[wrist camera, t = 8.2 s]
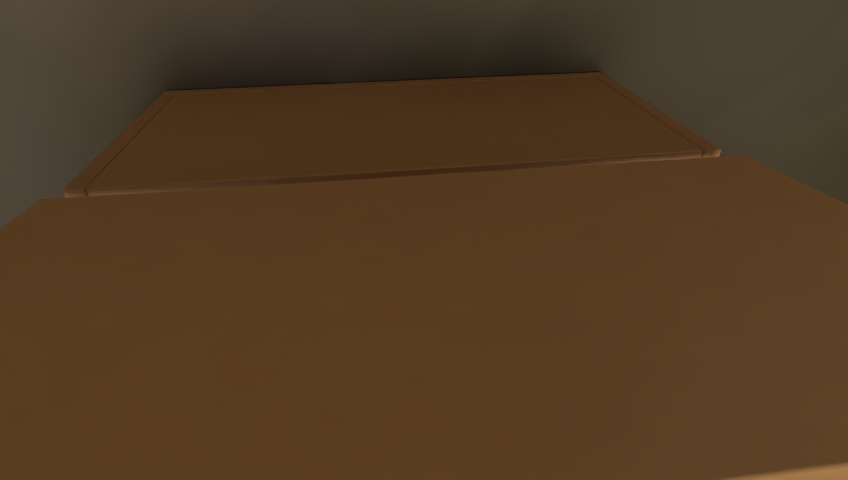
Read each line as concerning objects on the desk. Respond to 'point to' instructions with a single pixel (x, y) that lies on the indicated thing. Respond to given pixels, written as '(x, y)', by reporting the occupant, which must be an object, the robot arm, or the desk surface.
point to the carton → (382, 133)
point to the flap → (432, 329)
